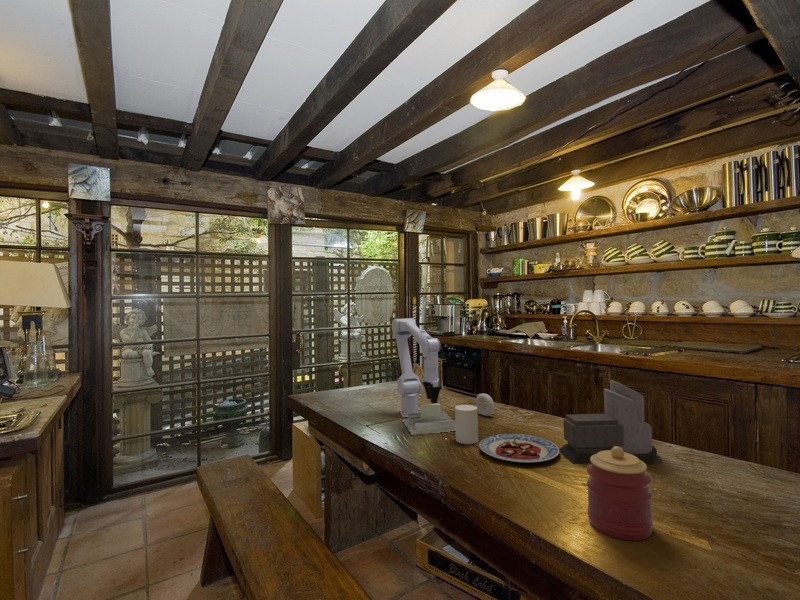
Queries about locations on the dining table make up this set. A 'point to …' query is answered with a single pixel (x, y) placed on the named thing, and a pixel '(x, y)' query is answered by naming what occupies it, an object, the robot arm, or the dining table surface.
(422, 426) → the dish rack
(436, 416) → the grey rectangular block
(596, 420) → the grey napkin holder
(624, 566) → the dining table surface
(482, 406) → the donut
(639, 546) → the dining table surface
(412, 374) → the robot arm
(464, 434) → the white cylinder
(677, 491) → the dining table surface
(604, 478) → the canister
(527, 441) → the ceramic plate
